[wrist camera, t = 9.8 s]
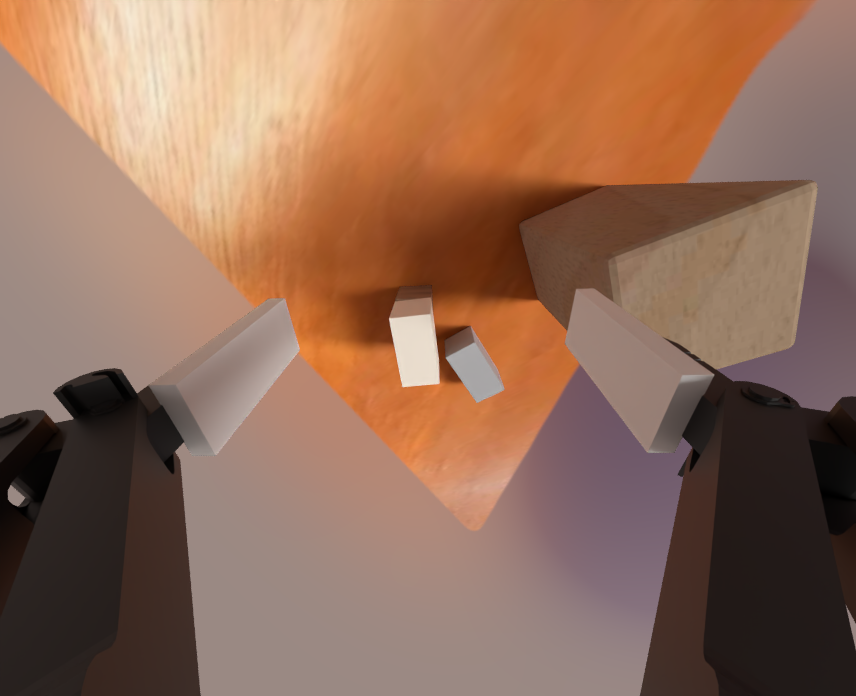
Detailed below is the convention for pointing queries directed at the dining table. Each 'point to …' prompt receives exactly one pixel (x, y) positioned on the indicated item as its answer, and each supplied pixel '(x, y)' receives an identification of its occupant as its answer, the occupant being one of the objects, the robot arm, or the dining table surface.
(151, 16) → the dining table surface
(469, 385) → the slate brick
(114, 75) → the dining table surface
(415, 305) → the cream brick
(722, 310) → the wooden block
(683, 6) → the dining table surface
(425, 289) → the walnut brick
